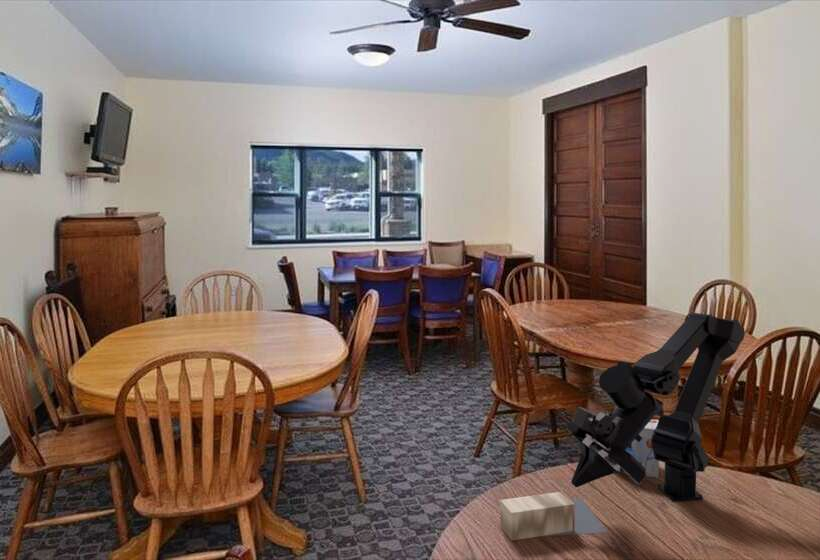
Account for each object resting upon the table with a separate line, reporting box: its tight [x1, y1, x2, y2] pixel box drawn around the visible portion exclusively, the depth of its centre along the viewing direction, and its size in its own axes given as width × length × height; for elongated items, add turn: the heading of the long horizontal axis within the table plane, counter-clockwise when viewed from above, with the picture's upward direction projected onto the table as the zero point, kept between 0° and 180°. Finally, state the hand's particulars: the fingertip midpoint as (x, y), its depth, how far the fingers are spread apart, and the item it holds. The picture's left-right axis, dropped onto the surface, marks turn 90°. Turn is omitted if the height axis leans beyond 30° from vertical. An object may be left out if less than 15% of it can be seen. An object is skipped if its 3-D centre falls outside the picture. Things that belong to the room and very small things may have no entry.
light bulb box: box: [616, 418, 660, 478], centre depth 132 cm, size 11×7×11 cm, turn 70°
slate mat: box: [543, 498, 608, 537], centre depth 112 cm, size 13×16×1 cm
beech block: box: [499, 491, 575, 541], centre depth 107 cm, size 5×5×12 cm
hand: (573, 485), depth 108 cm, fingers closed
